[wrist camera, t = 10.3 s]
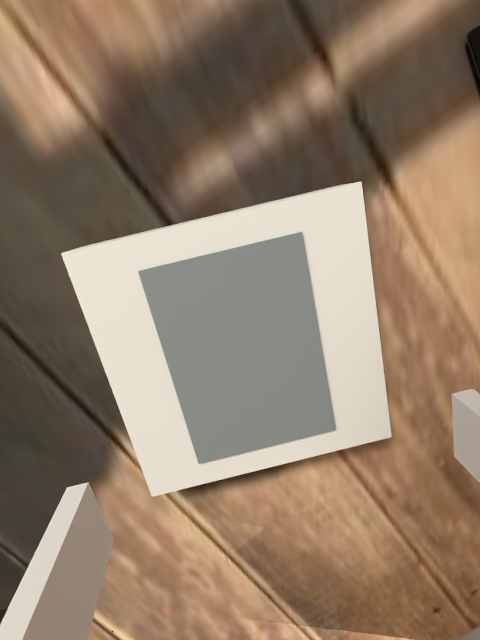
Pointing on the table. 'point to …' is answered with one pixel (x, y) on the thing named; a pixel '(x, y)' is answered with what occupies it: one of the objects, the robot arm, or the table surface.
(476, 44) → the black stand
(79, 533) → the robot arm
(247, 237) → the plinth
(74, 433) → the table surface
